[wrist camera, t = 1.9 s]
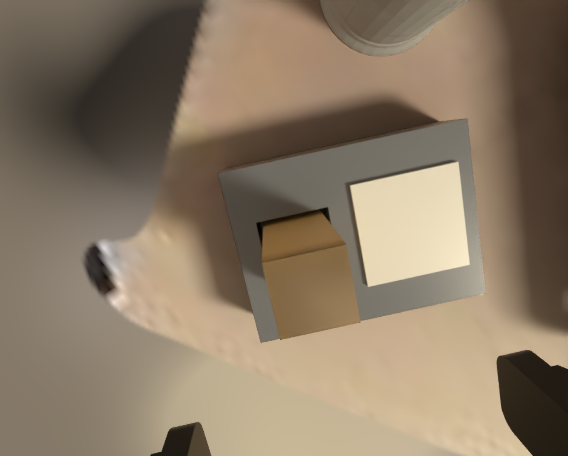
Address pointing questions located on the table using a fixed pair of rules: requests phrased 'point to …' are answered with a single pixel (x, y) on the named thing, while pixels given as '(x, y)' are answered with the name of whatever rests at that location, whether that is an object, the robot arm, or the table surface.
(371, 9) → the white pitcher
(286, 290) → the plug
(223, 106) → the table surface
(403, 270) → the block
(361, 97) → the table surface
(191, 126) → the table surface
